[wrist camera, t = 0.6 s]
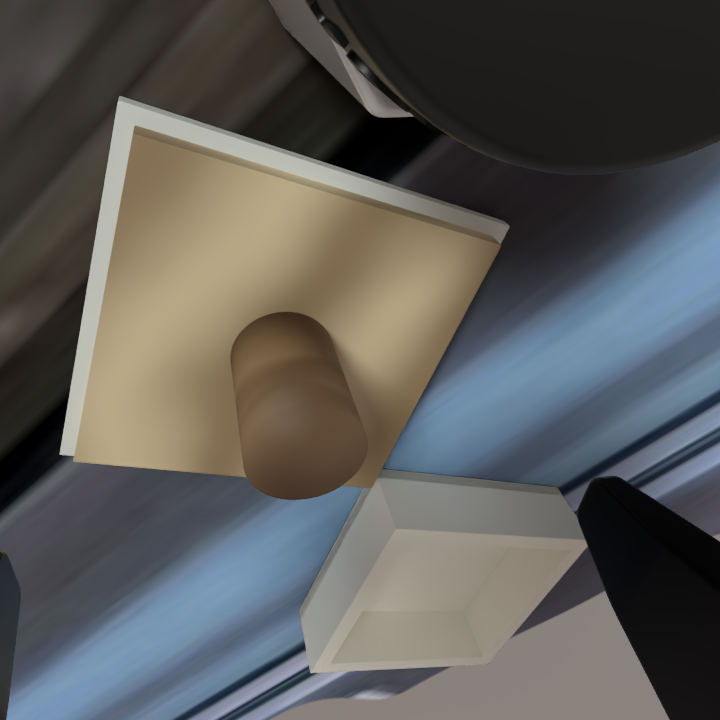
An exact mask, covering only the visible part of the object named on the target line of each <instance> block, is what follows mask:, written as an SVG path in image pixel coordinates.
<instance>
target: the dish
mask: <svg viewBox="0 0 720 720" xmlns="http://www.w3.org/2000/svg"><path fill="white" fill-rule="evenodd" d="M587 547H588V546H587V543H586V541H585V538H584V536H583V533H582V530H581V528H580V525H579V522H578V518H577V516H576V515H575V513H574V512H573V510H572V509H571V507H570V506H569V505H568V503H567V502H566V500H565V499H564V497H563V496H562V494H561V493H560V491H559V490H558V488H557V487H551V486H541V485H532V484H522V483H512V482H503V481H493V480H484V479H474V478H465V477H455V476H446V475H436V474H427V473H417V472H407V471H398V470H388V469H382V470H381V471H380V473H379V475H378V477H377V479H376V481H375V483H374V485H373V486H372V488H363V490H362V492H361V494H360V496H359V497H358V499H357V501H356V503H355V505H354V507H353V509H352V511H351V513H350V515H349V516H348V518H347V520H346V522H345V524H344V526H343V528H342V530H341V532H340V534H339V535H338V537H337V539H336V541H335V543H334V545H333V547H332V549H331V551H330V553H329V554H328V556H327V558H326V560H325V562H324V564H323V566H322V568H321V570H320V572H319V573H318V575H317V577H316V579H315V581H314V583H313V585H312V587H311V589H310V591H309V592H308V594H307V596H306V598H305V600H304V602H303V604H302V606H301V608H300V610H299V612H300V617H301V623H302V629H303V634H304V640H305V646H306V651H307V657H308V662H309V668H310V673H323V672H343V671H363V670H384V669H404V668H424V667H445V666H465V665H485V664H489V662H490V661H491V660H492V659H493V658H494V656H495V655H496V654H497V653H498V652H499V650H500V649H501V648H502V647H503V646H504V645H505V643H506V642H507V641H508V640H509V639H510V638H511V636H512V635H513V634H514V633H515V632H516V630H517V629H518V628H519V627H520V626H521V625H522V623H523V622H524V621H525V620H526V619H527V617H528V616H529V615H530V614H531V613H532V612H533V610H534V609H535V608H536V607H537V606H538V604H539V603H540V602H541V601H542V600H543V599H544V597H545V596H546V595H547V594H548V593H549V591H550V590H551V589H552V588H553V587H554V586H555V584H556V583H557V582H558V581H559V580H560V578H561V577H562V576H563V575H564V574H565V573H566V571H567V570H568V569H569V568H570V567H571V565H572V564H573V563H574V562H575V561H576V560H577V558H578V557H579V556H580V555H581V554H582V552H583V551H584V550H585V549H586V548H587Z"/></svg>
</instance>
